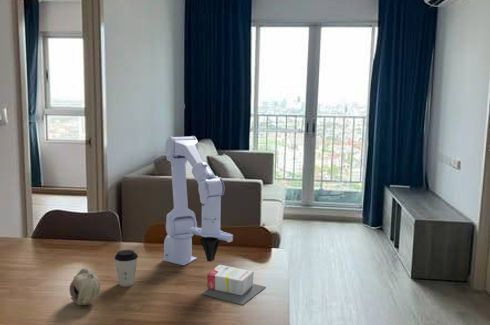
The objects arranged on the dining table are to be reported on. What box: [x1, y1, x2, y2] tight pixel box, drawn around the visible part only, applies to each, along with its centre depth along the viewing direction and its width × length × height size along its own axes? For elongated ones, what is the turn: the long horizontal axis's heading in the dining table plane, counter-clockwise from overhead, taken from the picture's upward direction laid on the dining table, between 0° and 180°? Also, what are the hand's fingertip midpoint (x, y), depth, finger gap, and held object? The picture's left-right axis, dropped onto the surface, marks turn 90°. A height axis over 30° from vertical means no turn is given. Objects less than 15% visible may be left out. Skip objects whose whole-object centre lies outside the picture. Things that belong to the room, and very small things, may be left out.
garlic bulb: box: [68, 267, 101, 306], centre depth 127 cm, size 9×8×10 cm
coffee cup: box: [114, 249, 139, 288], centre depth 141 cm, size 7×7×10 cm
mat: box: [201, 283, 266, 306], centre depth 138 cm, size 14×14×1 cm
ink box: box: [206, 264, 254, 296], centre depth 139 cm, size 9×5×12 cm
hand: (210, 260), depth 141 cm, fingers closed
